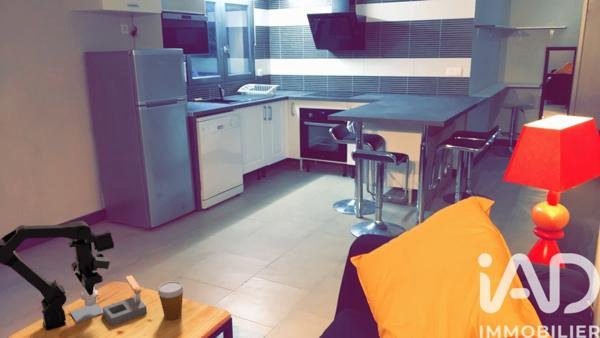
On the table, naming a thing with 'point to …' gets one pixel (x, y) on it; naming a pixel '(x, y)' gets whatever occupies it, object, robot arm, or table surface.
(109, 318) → the socket base
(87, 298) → the plug
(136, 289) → the light orange flat bar
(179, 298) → the disposable coffee cup
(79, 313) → the mat
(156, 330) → the table surface
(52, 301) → the robot arm
